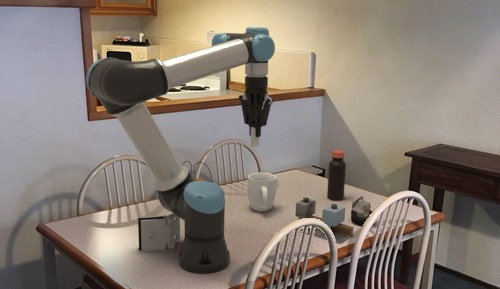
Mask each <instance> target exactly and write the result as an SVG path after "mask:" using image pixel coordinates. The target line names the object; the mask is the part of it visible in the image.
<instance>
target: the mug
mask: <svg viewBox="0 0 500 289" xmlns="http://www.w3.org/2000/svg"><path fill="white" fill-rule="evenodd" d="M276 192H277V175H275V174H273V173H270V172H253V173H249V174H248V176H247V197H248V201H249V204H250V206H251V208H252V210H253V211H255V212H262V213H265V212H268V211H270V210H271V209H272V207H273V205H274V202H275V199H276V195H277V193H276Z"/></svg>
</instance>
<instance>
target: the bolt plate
mask: <svg viewBox="0 0 500 289" xmlns="http://www.w3.org/2000/svg"><path fill="white" fill-rule="evenodd" d="M331 230H332V229H331ZM300 231H303V229H301V230H300ZM300 231H299V232H300ZM332 232H333V234H334V236H335V239H336V242H337V243H336V242H335V243H336V244H339V243H341V244H342V243H344V242H345V241H347V240H348V239H349V238H351V237H350V235H349V234H345V233H342V232H339V231H335V230H332ZM309 233H310V228H308V235H310V234H309ZM314 236H315V237H316V238H320V239H324V240H326V241H328V240H327V238H326V236H325V234H324V233H323V232H322V231H321V230H320V229H318V228H316V229H315V233H314Z"/></svg>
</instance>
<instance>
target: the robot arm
mask: <svg viewBox="0 0 500 289" xmlns="http://www.w3.org/2000/svg"><path fill="white" fill-rule="evenodd" d="M275 51H276V44H275V41H274V40H273V38H272V37H271V36H270V31H269V29H268V27H265V26H264V27H259V26H255V27H254V26H253V27H252V26H250V27H249V26H248V27H246V29H245V32H244V33H240V32H239V33H237V32H219V33H216V34H214V36H213V37H212V40H211V46H208V47H203V48H201V49H197V50H193V51H190V52H186V53H183V54H181V55H180V54H179V55H176V56H173V57H169V58H166V59H163V60H160V59H158V58H151V59H147V60H143V61H141V60H140V61H138V60H137V61H135V60H134V61H132V60H123V59H118V58H115V57H104V58H100V59H97V60H96V61H95V62H93V63H92V64H91V65H90V66H89V68H88V70H87V72H86V76H85V83H86V87H87V89H88V91H89V92H90V93H91V95H92V96H94V98H96V99H98V100H99V101H100V103H101V105H102V106H103V108H104V110H105V111H106V113H107V114H108V115H109V116H111V117H116V118H117V120H118V122H119V124H120V125H121V126H122V128H123V130H124V131H125V133H126V134H127V136H128V137H129V139H130V141H131V142H132V144H133V145H134V147H135V149H136V151H137V152H138V154H139V155H140V157H141V158H142V160H143V162H144V163H145V165H146V167H147V168H148V170H149V171H150V173H151V175H152V176H153V177H154V180H155V181H154V184H153V186H154V189H155V191H156V197H157V200H158V201H159V203H160V205H161V206H162V207H164V209H165V210H167V211H168V212H171V214H173V213H174V214H175V215H177V216H178V217H180V220H183V221H184V239H183V242H182V245H181V248H180V251H179V254H178V264H179V266H180V268H182V269H184V270H186V271H187V272H191V273H196V274H209V273H216V272H219V271H222V270H224V269H226V268H227V267H228V266H229V265H230V261H231V252H230V251H229V249H228V245H227V242H226V238H225V217H226V216H225V213H226V212H225V209H226V207H225V206H226V198H225V197H226V196H225V191H224V189H223V187H221V186H220V185H219V184H217V183H216V182H213V181H207V180H203V181H195V180H194V176H193V177H192V175H193V174H192V175H191V171H190V170H189V168H188V166H185V165H182V164H180V162H179V161H178V158H177V157H176V155H175V154H174V151H173V150H172V149H171V147H170V145H169V143H168V142H167V140H166V138H165V136H164V135H163V133H162V131H161V129H160V127H159V126H158V124H157V123H156V121H155V119H154V117H153V116H152V114H151V112H150V110H149V109H148V107H147V105H146V104H145V102H148V101H150V100H153V99H156V98H159V97H162V96H165V95H167V94H169V90H170V89H174V88H176V87H180V86H182V85H186V84H189V83H192V82H194V81H195V82H196V81H198V80H201V79H204V78H207V77H210V76H214V75H217V74H220V73H223V72H225V71H228V70H232V69H235V68H238V67H241V66H244V75H245V77H244V87H245V89H244V93H243V94H241V95H238V99H239V101H240V104H241V110H242V118H243V122H244V125H248V127H249V132H248V133H249V134H248V135H249V137H250V147H251V148H256V147H259V146H260V137H261V136H262V134H261V133H262V127H265V126H267V122H268V120H269V115H270V111H271V106H272V104H273V102H274V98H272V97H270V96H269V95H268V91H267V90H268V86H269V77H268V74H269V60H271V59H272V58H273V56H274V55H275Z"/></svg>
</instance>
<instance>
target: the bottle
mask: <svg viewBox="0 0 500 289" xmlns="http://www.w3.org/2000/svg"><path fill="white" fill-rule="evenodd" d="M331 158H332V159H331V160H330V161H329V163H328V175H327V176H328V177H327V193H326V194H327V195H326V196H327V197H326V198H327V199H328V200H330V201H334V200H335V201H336V202H337V201H339V200H340V201H342V200H344V197H345V185H346V184H345V182H346V169H347V168H346V166H347V164H346V162H345V161H344V158H345V151H344V150H339V149H338V150H337V149H336V150H332V151H331Z"/></svg>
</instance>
